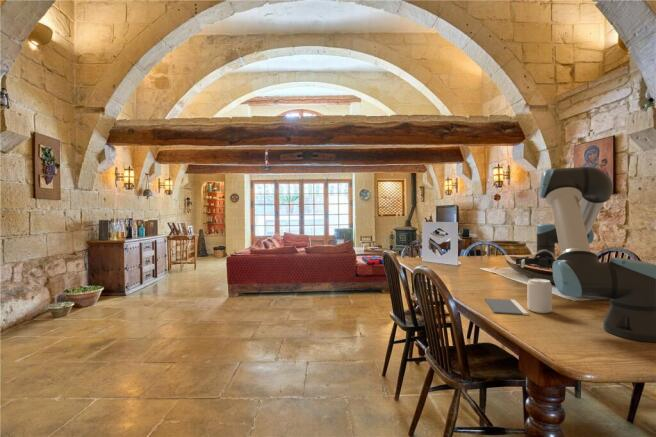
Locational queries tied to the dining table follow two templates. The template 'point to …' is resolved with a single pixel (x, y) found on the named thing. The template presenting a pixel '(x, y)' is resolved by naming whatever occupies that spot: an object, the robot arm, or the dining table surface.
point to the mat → (505, 306)
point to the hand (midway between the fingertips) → (540, 265)
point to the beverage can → (539, 295)
